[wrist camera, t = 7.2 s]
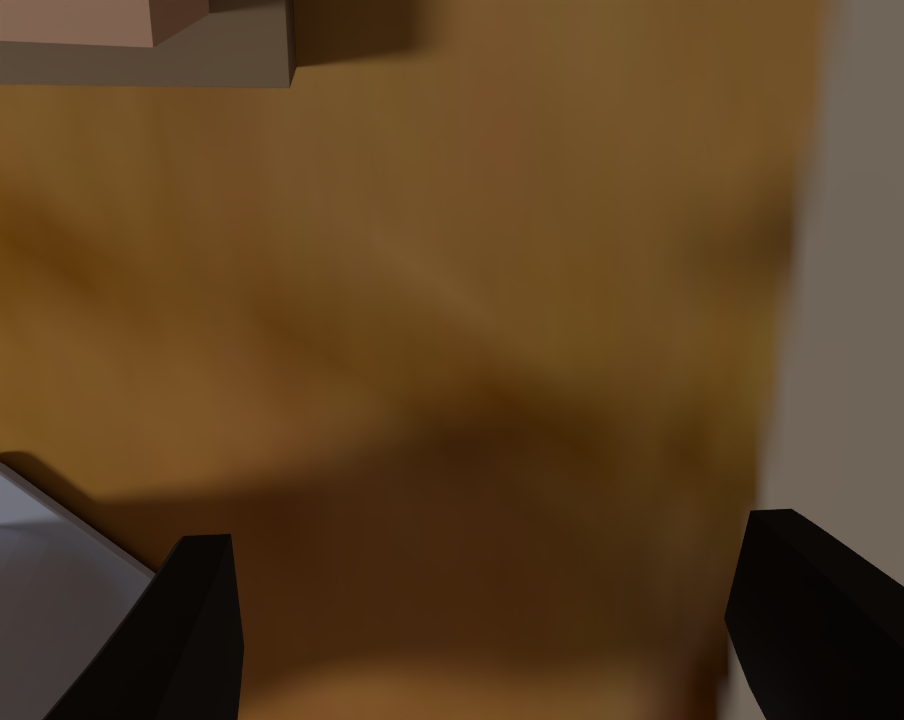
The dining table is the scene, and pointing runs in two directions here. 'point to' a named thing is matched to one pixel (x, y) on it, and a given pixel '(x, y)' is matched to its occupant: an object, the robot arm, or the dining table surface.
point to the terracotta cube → (98, 21)
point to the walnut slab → (173, 54)
